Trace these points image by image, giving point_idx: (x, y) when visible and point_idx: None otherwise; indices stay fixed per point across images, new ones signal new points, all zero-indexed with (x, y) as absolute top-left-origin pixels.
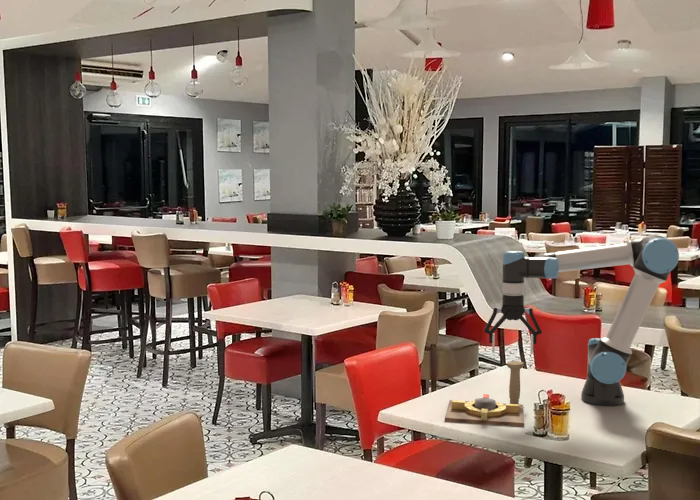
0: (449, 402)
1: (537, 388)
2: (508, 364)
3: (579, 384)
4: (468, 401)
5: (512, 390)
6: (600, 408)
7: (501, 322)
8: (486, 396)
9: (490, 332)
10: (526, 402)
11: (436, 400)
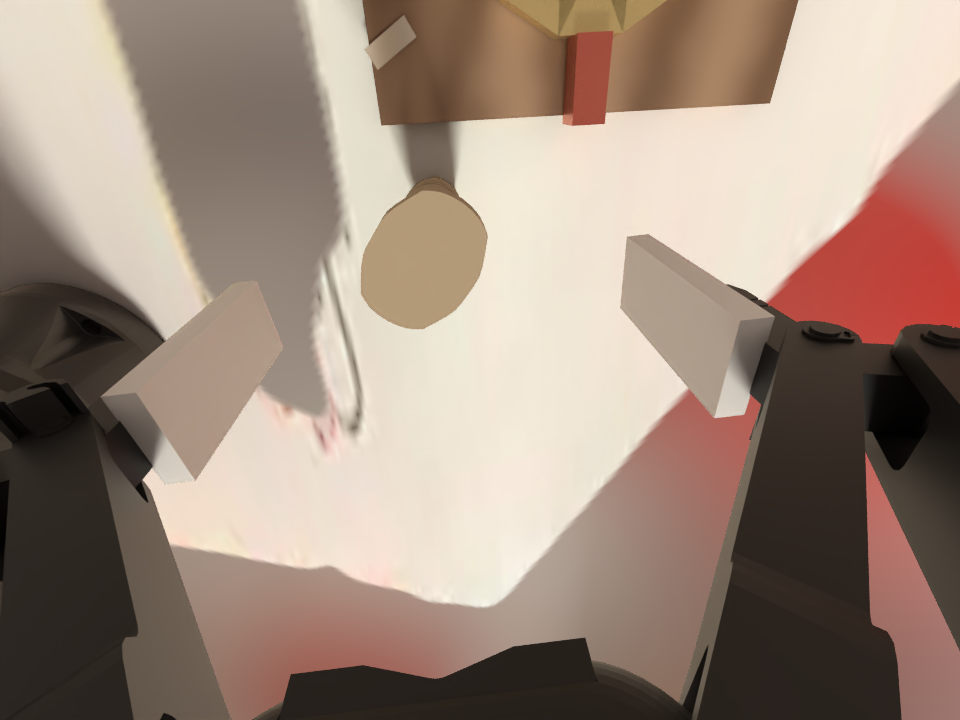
0: (783, 44)
1: (373, 442)
2: (475, 212)
3: (247, 517)
4: (670, 103)
5: (442, 184)
6: (33, 235)
7: (771, 526)
8: (590, 67)
9: (840, 336)
10: None
11: (813, 144)
